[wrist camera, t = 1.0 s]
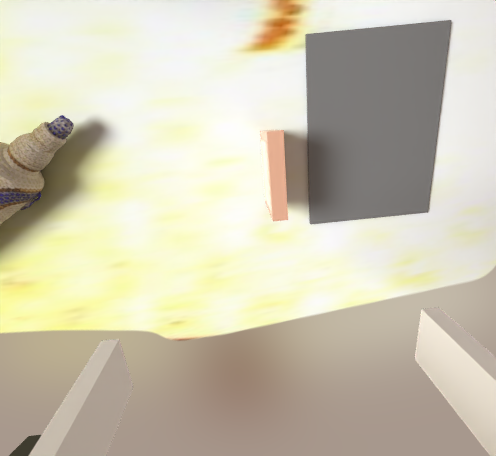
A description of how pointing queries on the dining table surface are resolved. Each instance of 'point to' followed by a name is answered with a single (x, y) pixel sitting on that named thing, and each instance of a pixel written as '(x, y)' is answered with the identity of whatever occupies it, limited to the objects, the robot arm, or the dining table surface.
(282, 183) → the terracotta tile
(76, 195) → the dining table surface
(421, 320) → the robot arm
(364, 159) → the rubber mat
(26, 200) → the decorative bottle
